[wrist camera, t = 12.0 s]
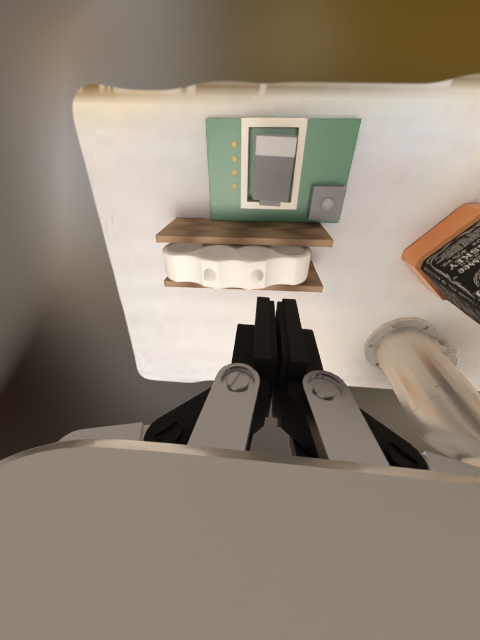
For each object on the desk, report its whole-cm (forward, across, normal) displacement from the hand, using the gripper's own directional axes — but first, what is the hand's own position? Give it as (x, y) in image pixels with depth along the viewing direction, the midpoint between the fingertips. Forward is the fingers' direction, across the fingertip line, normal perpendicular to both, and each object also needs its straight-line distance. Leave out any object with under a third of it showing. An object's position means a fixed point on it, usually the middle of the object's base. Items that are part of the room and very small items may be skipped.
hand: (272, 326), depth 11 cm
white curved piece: (+30, +4, +5) cm, 30 cm away
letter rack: (+29, +3, +5) cm, 30 cm away
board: (+29, -1, -4) cm, 30 cm away
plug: (+28, 0, -5) cm, 28 cm away
